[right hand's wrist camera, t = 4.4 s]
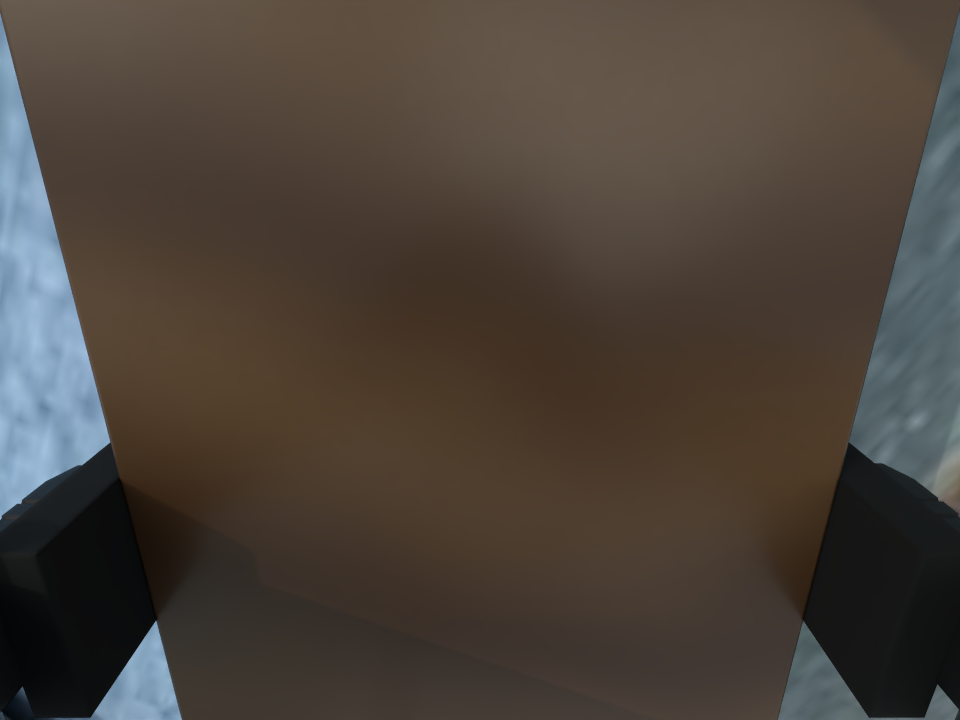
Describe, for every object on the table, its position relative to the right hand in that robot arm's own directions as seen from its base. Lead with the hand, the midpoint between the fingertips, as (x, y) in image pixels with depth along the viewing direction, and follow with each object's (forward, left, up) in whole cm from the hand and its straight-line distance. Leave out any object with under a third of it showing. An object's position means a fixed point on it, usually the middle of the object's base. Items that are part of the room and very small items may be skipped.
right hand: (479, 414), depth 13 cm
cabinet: (+4, +3, -3) cm, 6 cm away
